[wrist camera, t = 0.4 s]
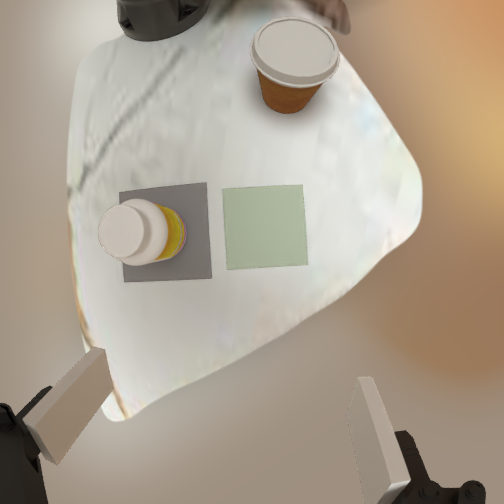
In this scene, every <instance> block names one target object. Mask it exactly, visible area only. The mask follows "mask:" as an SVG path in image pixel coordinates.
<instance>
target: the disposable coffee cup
mask: <svg viewBox="0 0 504 504" xmlns="http://www.w3.org/2000/svg"><path fill="white" fill-rule="evenodd" d="M250 56H251V59H252V62H253V63H254V65H255V66H256V68H257V72H258V76H259V81H260V85H261V90H262V94H263V99H264V101H265V103H266V104H267V105H268V106H269V107H270V108H271V109H273V110H275V111H277V112H280V113H285V114H290V113H295V112H298V111H300V110H301V109H303V108H304V107H305V105H306V104H307V103H308V102H309V100H310V99H311V98H312V96H313V95H314V94H315V93H316V91H317V90H318V89H319V87H320V86H321V85H322V84H323V83H324V82H325V81H327V80H328V79H330V78H331V77H332V76H333V75H334V74H335V72H336V71H337V69H338V67H339V62H340V54H339V50H338V47H337V43H336V41H335V39H334V37H333V36H332V35H331V34H330V33H329V31H328V30H326V29H325V28H324V27H323V26H321V25H319V24H318V23H316V22H314V21H311V20H308V19H305V18H300V17H280V18H276V19H273V20H271V21H269V22H267V23H265V24H264V25H263V26H262V27H261V28H260V29H259V30H258V31H257V32H256V34H255V35H254V36H253V38H252V40H251V43H250Z"/></svg>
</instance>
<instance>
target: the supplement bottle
mask: <svg viewBox="0 0 504 504" xmlns="http://www.w3.org/2000/svg"><path fill="white" fill-rule="evenodd" d="M186 234H187V231H186V226H185V223H184V221H183V219H182V217H181V216H180V215H179V214H178V213H177V212H176V211H174V210H172V209H170V208H168V207H165V206H162V205H159V204H156V203H153V202H150V201H147V200H144V199H130V200H127V201H125V202H123V203H121V204H120V205H116V206H114V207H112V208H110V209H109V210H107V211H106V212H105V214H104V215H103V216H102V218H101V220H100V223H99V227H98V237H99V241H100V244H101V246H102V247H103V249H104V250H105V251H106V252H107V253H108V254H109V255H111V256H113V257H116V258H117V259H118V260H119V261H121V262H123V263H125V264H127V265H132V266H140V265H145V264H149V263H153V262H157V261H162V260H166V259H170V258H172V257H174V256H175V255H176V254H178V253H179V252H180V251H181V249H182V248H183V246H184V244H185V241H186Z"/></svg>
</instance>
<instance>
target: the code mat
mask: <svg viewBox="0 0 504 504" xmlns="http://www.w3.org/2000/svg"><path fill="white" fill-rule="evenodd" d="M130 199H144V200H147V201H150V202H153V203H156V204H159V205H162V206H165V207H168V208H170V209H172V210H174V211H176V212H177V213H178V214H179V215H180V216H181V217H182V219H183V221H184V223H185V226H186V231H187V234H186V241H185V244H184V246H183V248H182V249H181V251H180V252H179V253H178V254H176V255H175V256H174V257H172V258H170V259H166V260H162V261H157V262H153V263H149V264H145V265H140V266H132V265H127V264H125V263H123V262H122V263H123V275H124V282H144V281H169V280H191V279H211V278H212V272H211V258H210V242H209V225H208V206H207V184H206V183H196V184H185V185H175V186H166V187H157V188H149V189H141V190H133V191H125V192H119V200H120V204H121V203H123V202H125V201H127V200H130Z"/></svg>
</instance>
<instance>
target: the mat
mask: <svg viewBox="0 0 504 504" xmlns="http://www.w3.org/2000/svg"><path fill="white" fill-rule="evenodd" d="M223 208H224V225H225V242H226V258H227V270H229V269H246V268H263V267H279V266H295V265H308V260H307V241H306V224H305V209H304V196H303V185H284V186H263V187H246V188H231V189H223Z"/></svg>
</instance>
